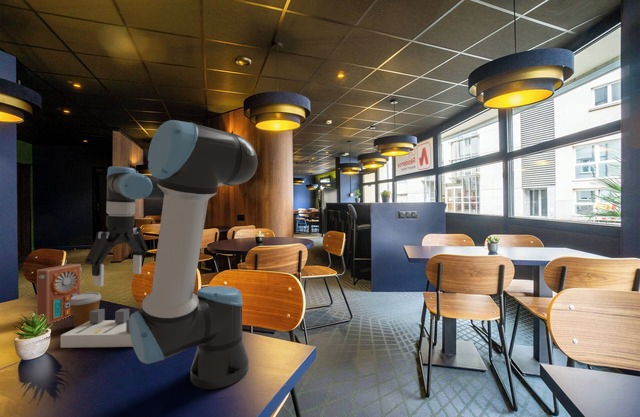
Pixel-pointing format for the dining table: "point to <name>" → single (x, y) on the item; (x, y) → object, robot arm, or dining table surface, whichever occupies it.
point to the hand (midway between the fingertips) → (119, 279)
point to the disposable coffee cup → (84, 307)
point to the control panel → (57, 290)
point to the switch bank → (97, 335)
